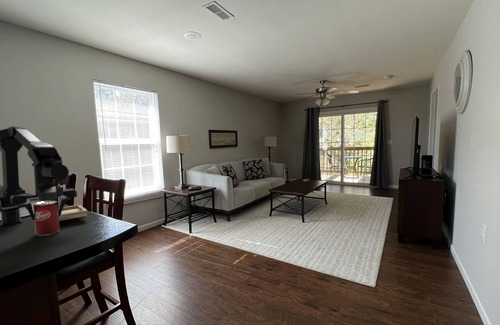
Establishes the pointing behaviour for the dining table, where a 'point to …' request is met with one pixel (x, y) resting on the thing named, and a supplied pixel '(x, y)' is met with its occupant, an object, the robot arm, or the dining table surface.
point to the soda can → (46, 218)
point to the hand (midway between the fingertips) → (47, 217)
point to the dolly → (73, 213)
